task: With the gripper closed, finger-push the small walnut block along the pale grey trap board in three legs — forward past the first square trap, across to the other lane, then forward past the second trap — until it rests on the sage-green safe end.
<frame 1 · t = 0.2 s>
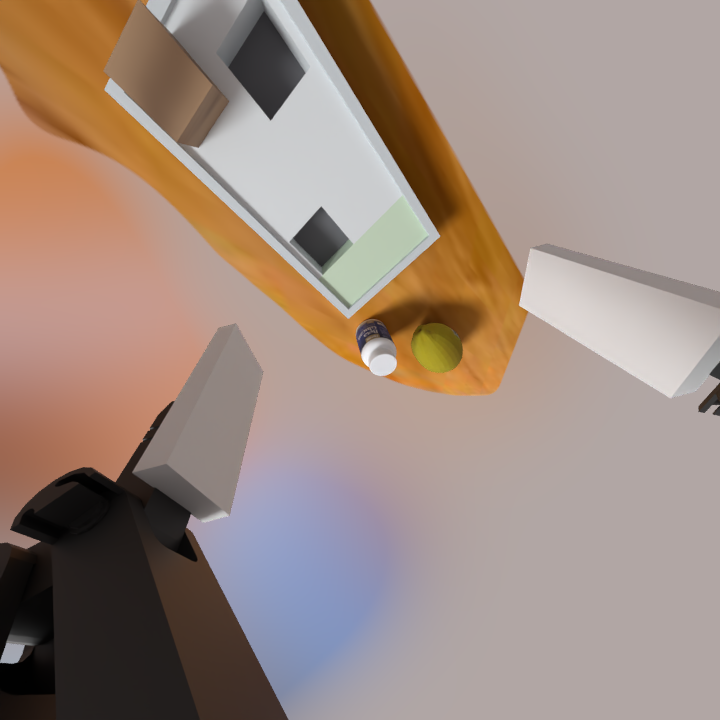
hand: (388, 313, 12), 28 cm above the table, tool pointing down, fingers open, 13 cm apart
pill bottle: (370, 331, 44), on the table
lemon: (427, 334, 47), on the table
trap board: (307, 178, 30), on the table
walnut block: (186, 96, 22), point 4 cm above the table, touching trap board
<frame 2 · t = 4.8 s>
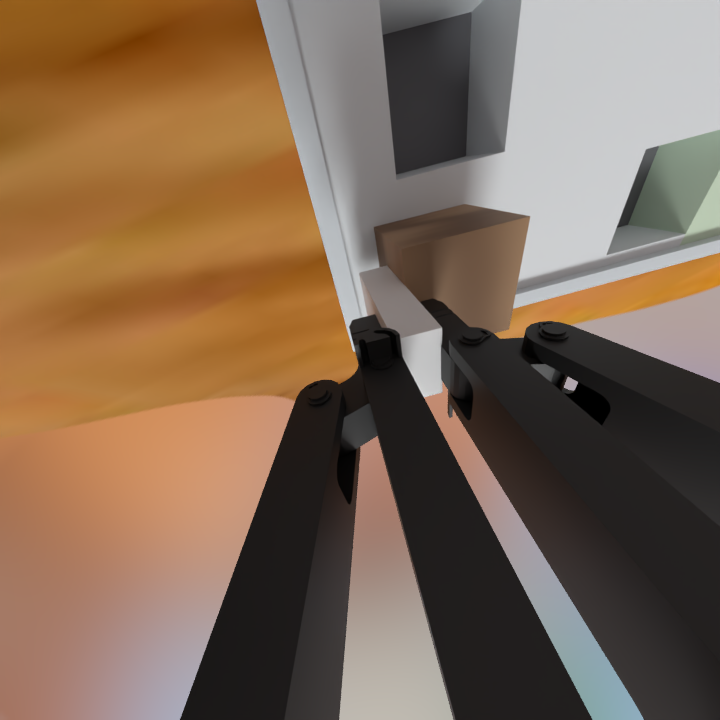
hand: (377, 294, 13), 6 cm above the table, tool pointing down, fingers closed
trap board: (543, 150, 16), on the table
walnut block: (421, 262, 15), point 4 cm above the table, touching gripper
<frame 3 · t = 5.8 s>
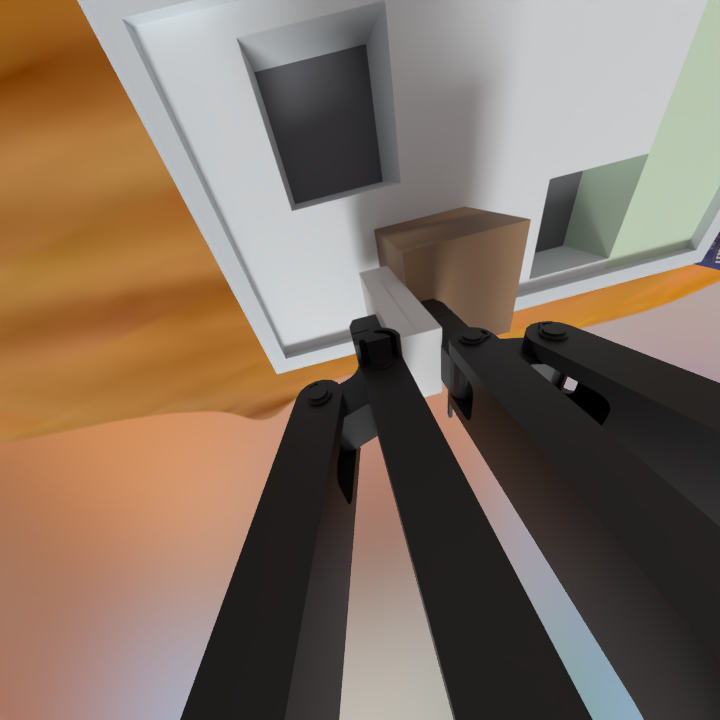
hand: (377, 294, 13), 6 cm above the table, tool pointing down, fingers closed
pill bottle: (705, 227, 21), on the table
trap board: (463, 174, 16), on the table
walnut block: (421, 265, 15), point 4 cm above the table, touching gripper
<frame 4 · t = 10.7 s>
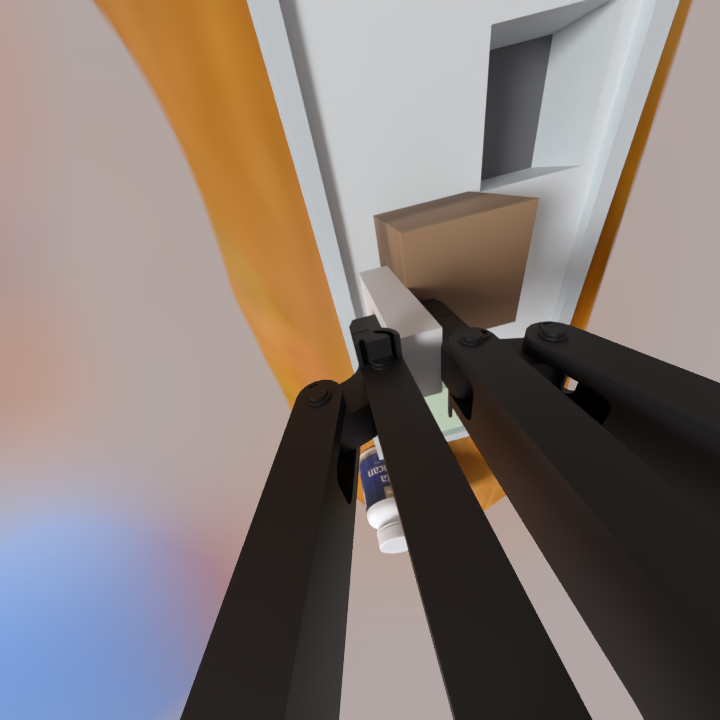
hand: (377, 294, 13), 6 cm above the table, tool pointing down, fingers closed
pill bottle: (378, 455, 33), on the table
trap board: (436, 272, 19), on the table
walnut block: (423, 253, 14), point 4 cm above the table, touching gripper
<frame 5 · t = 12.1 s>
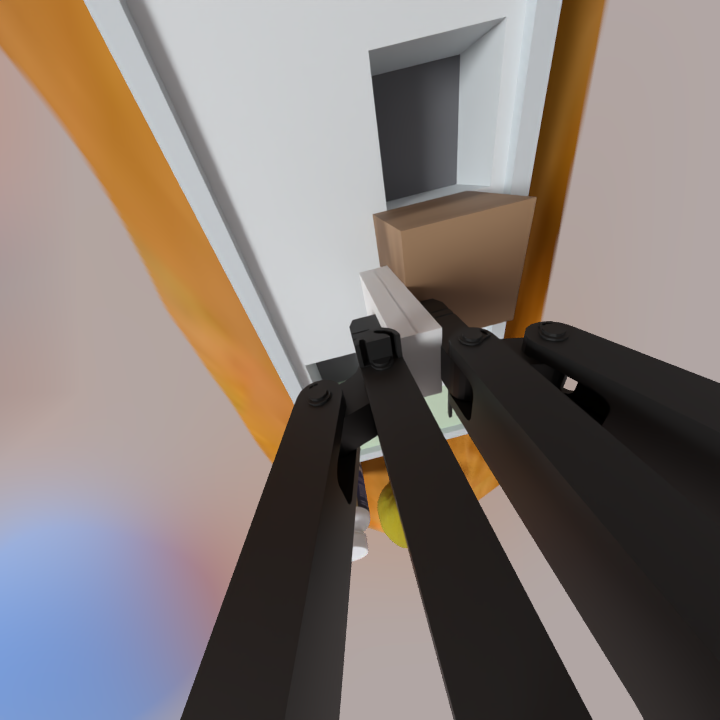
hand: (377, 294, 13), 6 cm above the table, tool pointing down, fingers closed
pill bottle: (339, 462, 33), on the table
lemon: (398, 480, 38), on the table
trap board: (373, 286, 19), on the table
walnut block: (422, 252, 15), point 4 cm above the table, touching gripper, trap board
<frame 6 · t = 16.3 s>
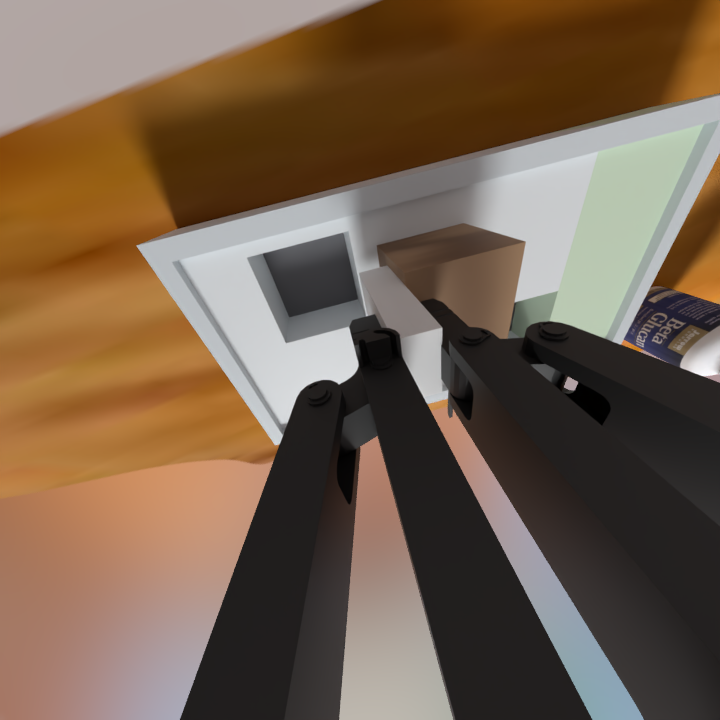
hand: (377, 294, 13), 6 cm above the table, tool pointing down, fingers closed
pill bottle: (632, 310, 26), on the table
trap board: (423, 290, 20), on the table
walnut block: (422, 278, 16), point 4 cm above the table, touching trap board
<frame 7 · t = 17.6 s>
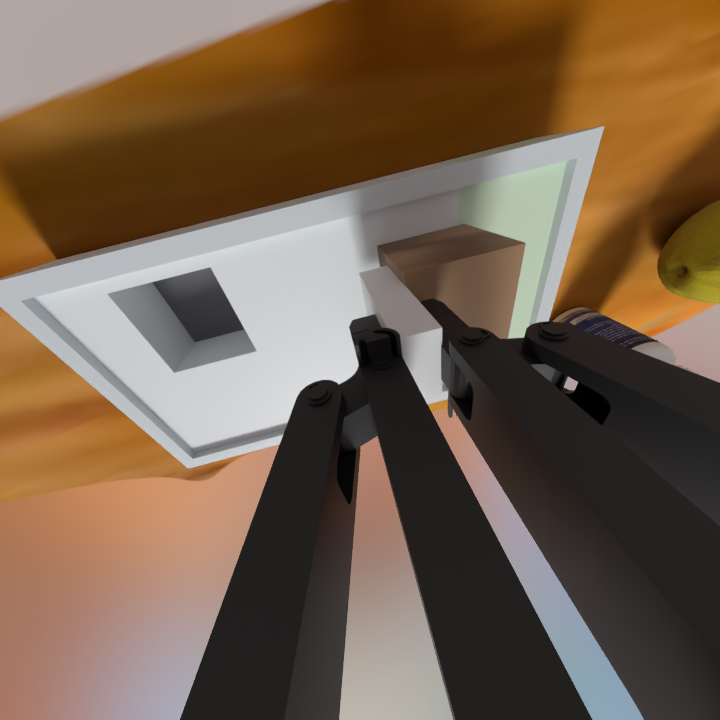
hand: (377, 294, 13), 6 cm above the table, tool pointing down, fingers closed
pill bottle: (562, 330, 26), on the table
lemon: (678, 236, 22), on the table
trap board: (333, 314, 20), on the table
walnut block: (422, 278, 16), point 4 cm above the table, touching gripper
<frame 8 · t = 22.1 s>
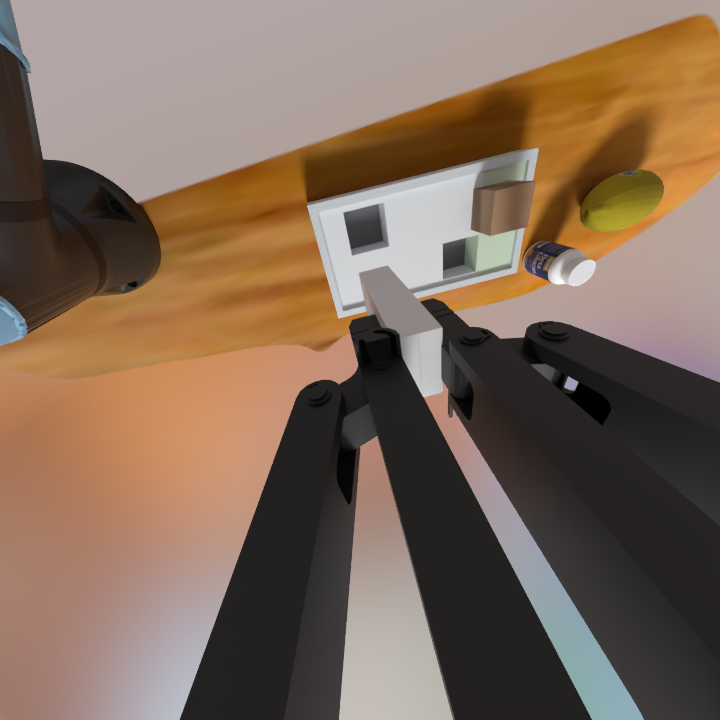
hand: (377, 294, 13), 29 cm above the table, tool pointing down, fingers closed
pill bottle: (534, 256, 46), on the table
lemon: (592, 200, 42), on the table
trap board: (415, 237, 40), on the table
walnut block: (489, 206, 36), point 4 cm above the table, touching trap board
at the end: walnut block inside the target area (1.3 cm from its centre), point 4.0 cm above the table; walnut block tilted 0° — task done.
